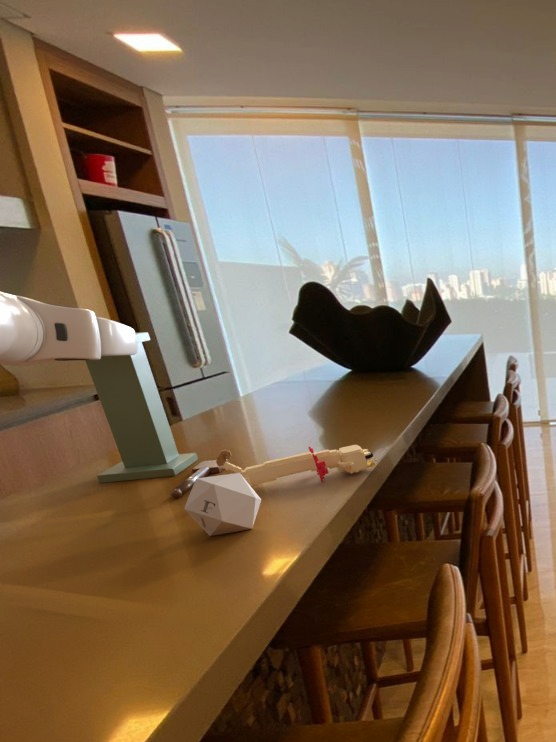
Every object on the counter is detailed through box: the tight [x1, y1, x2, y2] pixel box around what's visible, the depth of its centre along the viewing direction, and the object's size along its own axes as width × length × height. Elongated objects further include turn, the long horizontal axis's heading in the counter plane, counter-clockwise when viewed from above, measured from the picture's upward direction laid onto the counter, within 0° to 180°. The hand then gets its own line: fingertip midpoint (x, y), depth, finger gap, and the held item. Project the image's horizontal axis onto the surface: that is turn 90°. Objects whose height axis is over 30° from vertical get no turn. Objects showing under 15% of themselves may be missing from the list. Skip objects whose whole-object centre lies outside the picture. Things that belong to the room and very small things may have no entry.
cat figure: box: [215, 444, 378, 488], centre depth 104 cm, size 10×9×25 cm
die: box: [183, 472, 262, 537], centre depth 83 cm, size 8×9×10 cm
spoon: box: [170, 459, 230, 499], centre depth 106 cm, size 21×4×2 cm, turn 19°
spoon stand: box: [84, 331, 199, 484], centre depth 107 cm, size 12×14×26 cm
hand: (69, 340), depth 83 cm, fingers open, 8 cm apart
